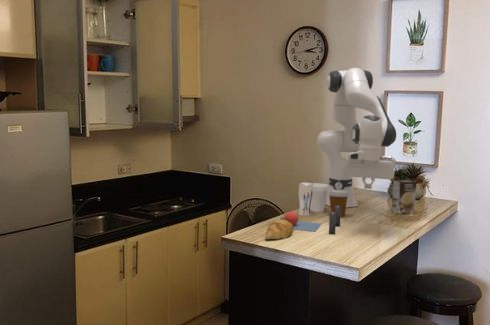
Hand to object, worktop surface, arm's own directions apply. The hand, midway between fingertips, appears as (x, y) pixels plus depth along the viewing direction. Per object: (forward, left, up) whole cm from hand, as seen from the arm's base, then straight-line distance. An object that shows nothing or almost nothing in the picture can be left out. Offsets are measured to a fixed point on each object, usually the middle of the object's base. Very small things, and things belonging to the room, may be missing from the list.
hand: (367, 188), depth 213 cm
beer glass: (-22, -31, -19) cm, 43 cm away
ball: (+1, -32, -16) cm, 36 cm away
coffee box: (-46, +13, -19) cm, 52 cm away
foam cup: (-32, -27, -19) cm, 46 cm away
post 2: (-7, -13, -19) cm, 24 cm away
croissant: (+18, -33, -20) cm, 42 cm away
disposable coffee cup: (-26, -16, -19) cm, 36 cm away
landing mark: (0, -27, -19) cm, 33 cm away
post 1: (+6, -13, -19) cm, 24 cm away
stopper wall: (0, -36, -19) cm, 41 cm away
